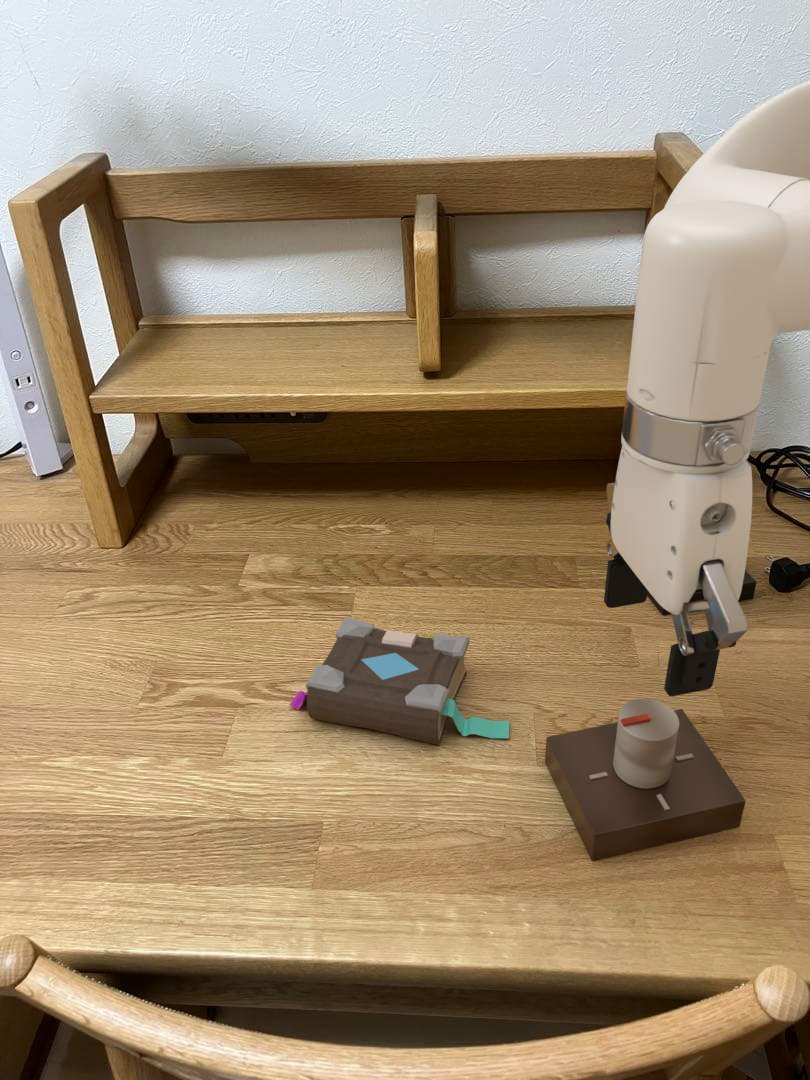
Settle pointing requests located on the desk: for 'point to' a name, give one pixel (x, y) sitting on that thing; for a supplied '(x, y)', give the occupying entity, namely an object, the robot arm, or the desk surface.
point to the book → (393, 684)
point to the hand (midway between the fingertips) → (654, 643)
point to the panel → (640, 792)
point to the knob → (645, 743)
